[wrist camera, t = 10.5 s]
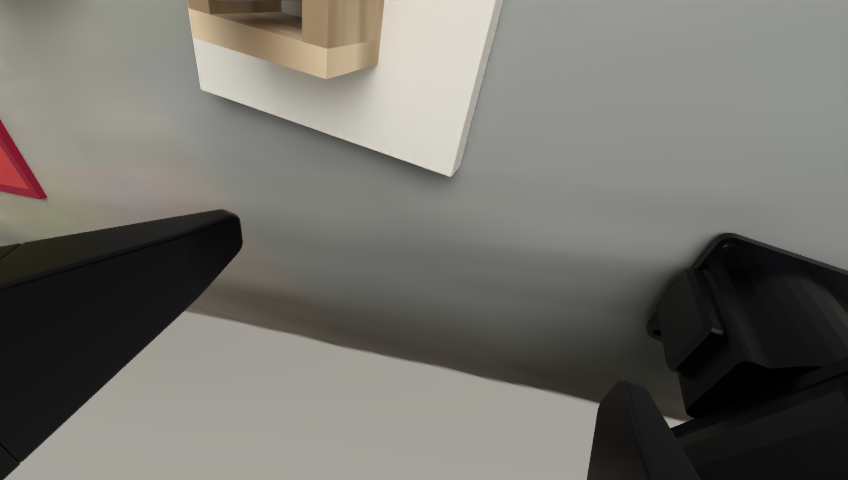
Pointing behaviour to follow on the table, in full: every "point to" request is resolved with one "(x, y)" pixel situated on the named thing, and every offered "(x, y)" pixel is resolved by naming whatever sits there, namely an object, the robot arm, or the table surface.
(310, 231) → the table surface
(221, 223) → the robot arm
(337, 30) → the collar
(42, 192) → the red board with handle
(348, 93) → the post plate
